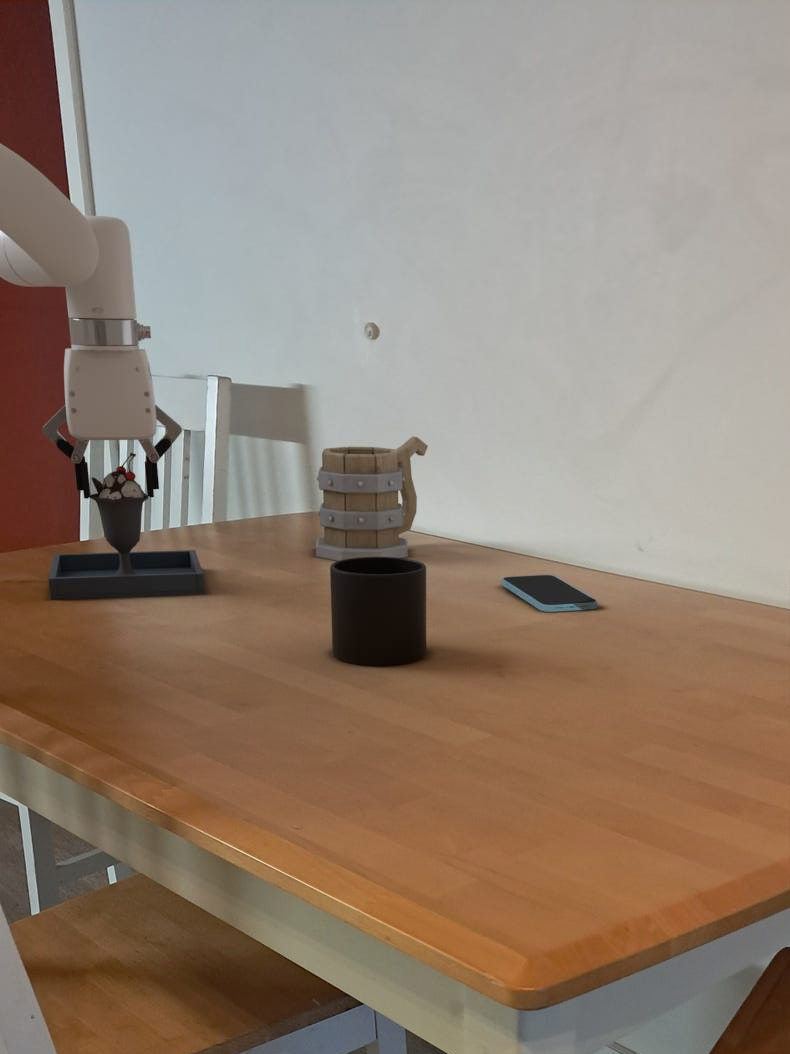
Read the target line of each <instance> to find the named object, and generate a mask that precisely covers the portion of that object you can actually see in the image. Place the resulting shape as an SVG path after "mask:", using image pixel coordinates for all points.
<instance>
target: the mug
mask: <svg viewBox="0 0 790 1054" xmlns="http://www.w3.org/2000/svg"><path fill="white" fill-rule="evenodd" d="M329 576H330V577H329V579H330V582H329V583H330V611H331V612H330V614H331V645H332V646H331V647H332V654H333V657H334V658H335V659H337V660H338V661H340V662H343V663H346V664H350V665H355V666H361V667H362V666H363V667H395V666H403V665H408V664H412V663H415V662H418V661H421V660H423V659H424V658H425V656H426V654H427V566H426V564H425V563H423V562H421V561H418V560H414V559H411V558H395V557H360V558H350V559H344V560H340V561H334V562H332V563H331V564H330V566H329Z"/></svg>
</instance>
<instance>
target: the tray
mask: <svg viewBox="0 0 790 1054" xmlns="http://www.w3.org/2000/svg"><path fill="white" fill-rule="evenodd" d="M129 558H130V565H131V568H132V570H133V571H134V572H135V573H136V574H138V575H114V574H116V573H117V572H118V570H119V566H120V557H119V552H118V551H115V552H113V551H112V552H83V553H81V552H80V553H79V552H77V553H53V555H52V559H51V560H52V561H51V566H50V571H49V575H48V587H49V594H50V601H63V600H64V601H65V600H89V599H115V598H140V597H143V598H144V597H145V598H146V597H169V596H171V597H172V596H193V595H194V596H196V595H197V596H198V595H199V596H200V595H205V594H206V593H205V579H204V572H203V569H202V566H201V563H200V560H199V557H198V554H197V551H196V550H195V549H187V550H186V549H182V550H155V551H154V550H150V551H148V550H147V551H130V553H129Z"/></svg>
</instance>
